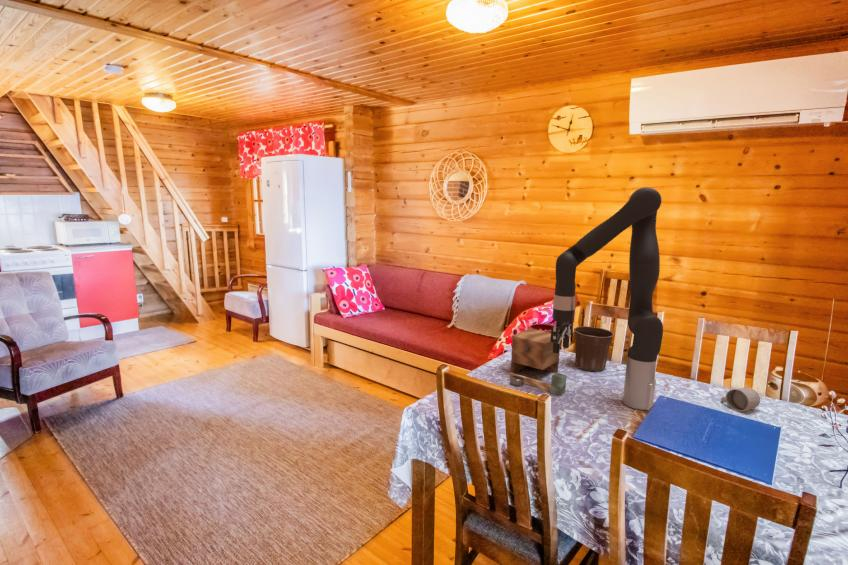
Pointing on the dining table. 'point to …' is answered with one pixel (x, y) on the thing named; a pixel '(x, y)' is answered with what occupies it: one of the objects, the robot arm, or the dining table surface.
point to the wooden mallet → (555, 387)
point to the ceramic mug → (742, 399)
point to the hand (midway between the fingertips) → (560, 350)
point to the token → (516, 381)
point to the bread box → (533, 351)
